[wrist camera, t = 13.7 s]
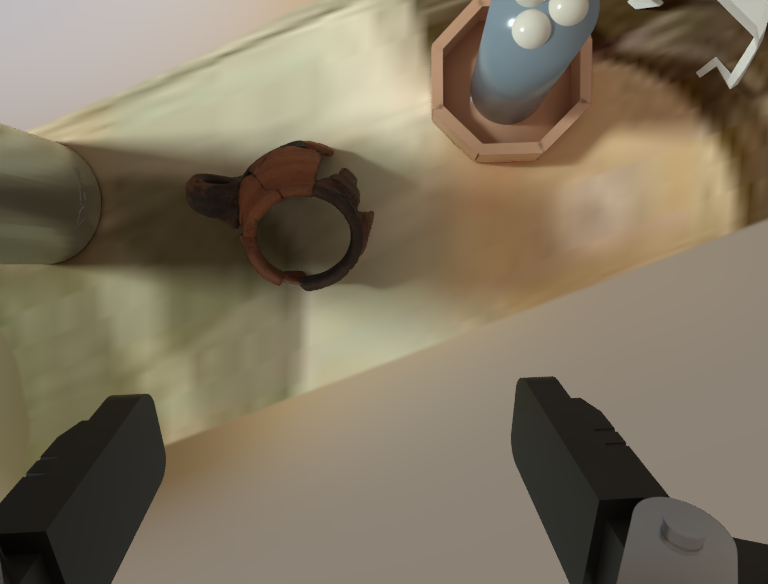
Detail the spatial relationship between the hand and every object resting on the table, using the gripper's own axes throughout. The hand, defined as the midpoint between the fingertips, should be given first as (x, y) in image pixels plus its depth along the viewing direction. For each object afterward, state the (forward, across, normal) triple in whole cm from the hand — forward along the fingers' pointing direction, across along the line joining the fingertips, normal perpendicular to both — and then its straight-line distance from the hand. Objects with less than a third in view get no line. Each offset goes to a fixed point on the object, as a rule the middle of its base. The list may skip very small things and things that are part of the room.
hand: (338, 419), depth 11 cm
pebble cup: (+26, -11, -7) cm, 29 cm away
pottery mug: (+26, +4, +1) cm, 26 cm away
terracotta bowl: (+26, -11, -7) cm, 29 cm away
